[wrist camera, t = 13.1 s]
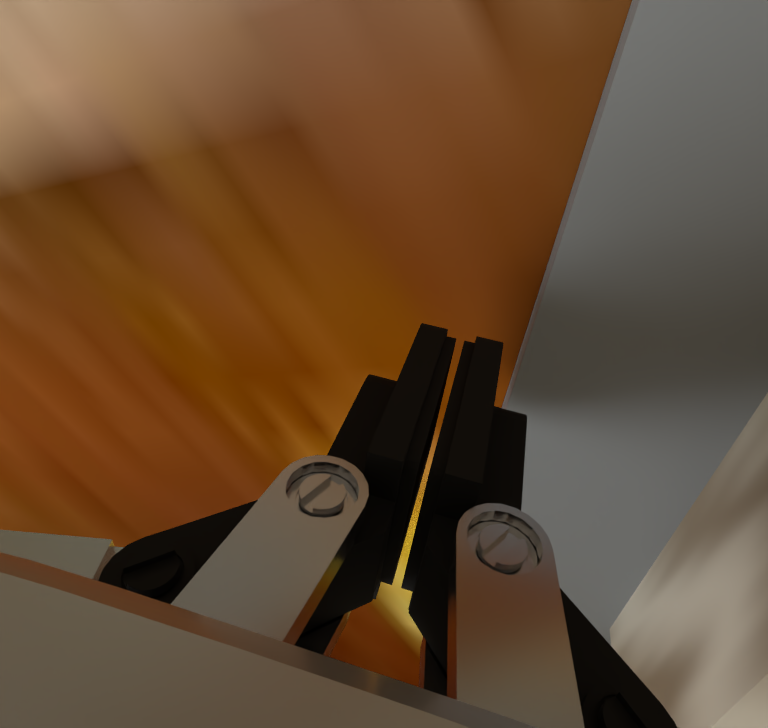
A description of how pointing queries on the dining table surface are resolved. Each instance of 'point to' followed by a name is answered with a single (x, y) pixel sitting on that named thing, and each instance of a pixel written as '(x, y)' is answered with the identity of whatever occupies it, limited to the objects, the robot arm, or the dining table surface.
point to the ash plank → (709, 599)
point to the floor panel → (651, 298)
